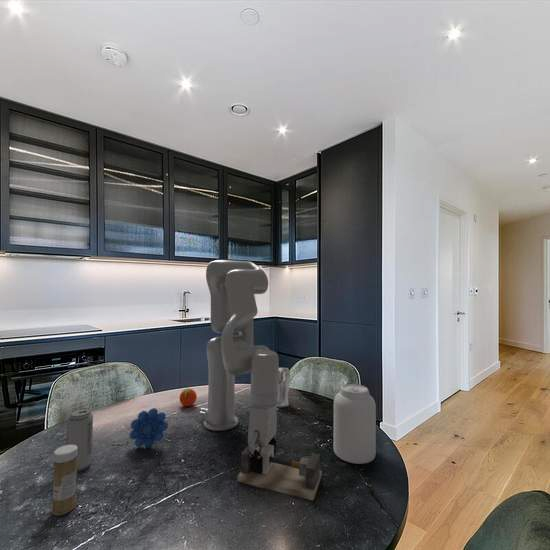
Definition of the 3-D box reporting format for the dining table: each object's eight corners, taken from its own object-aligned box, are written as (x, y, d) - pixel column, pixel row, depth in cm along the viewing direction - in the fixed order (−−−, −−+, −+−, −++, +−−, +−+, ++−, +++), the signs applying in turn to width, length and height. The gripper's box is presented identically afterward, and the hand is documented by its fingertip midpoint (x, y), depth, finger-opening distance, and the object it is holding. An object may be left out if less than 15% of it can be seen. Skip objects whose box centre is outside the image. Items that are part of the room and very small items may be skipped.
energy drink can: (68, 463, 88) (70, 409, 89) (93, 458, 91) (94, 406, 91) (63, 475, 83) (65, 418, 83) (90, 470, 85) (91, 414, 86)
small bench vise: (237, 481, 81) (238, 456, 81) (253, 461, 90) (253, 438, 91) (313, 500, 74) (313, 472, 74) (321, 476, 83) (321, 451, 84)
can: (369, 470, 87) (369, 397, 87) (327, 456, 93) (327, 389, 94) (380, 450, 97) (380, 385, 98) (341, 439, 104) (342, 378, 104)
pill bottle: (48, 510, 70) (50, 449, 70) (72, 499, 74) (73, 441, 74) (55, 520, 67) (57, 456, 68) (78, 508, 71) (80, 448, 71)
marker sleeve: (252, 470, 82) (253, 451, 82) (260, 460, 87) (260, 442, 87) (267, 474, 81) (267, 454, 81) (273, 463, 86) (273, 445, 86)
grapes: (171, 440, 102) (171, 402, 102) (165, 451, 95) (166, 411, 96) (134, 440, 101) (135, 403, 102) (126, 451, 95) (127, 411, 95)
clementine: (193, 410, 126) (193, 392, 126) (176, 410, 126) (176, 392, 126) (198, 402, 134) (198, 386, 134) (182, 402, 134) (182, 385, 134)
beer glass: (288, 408, 129) (288, 372, 129) (271, 407, 130) (272, 370, 130) (290, 402, 135) (291, 367, 136) (275, 401, 137) (275, 366, 137)
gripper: (263, 386, 94) (263, 444, 93) (237, 407, 78) (236, 477, 77) (287, 389, 91) (286, 448, 91) (265, 411, 75) (264, 484, 74)
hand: (263, 461), depth 84 cm, fingers open, 9 cm apart
